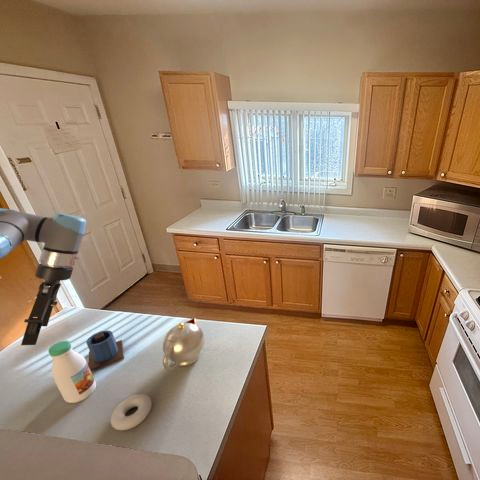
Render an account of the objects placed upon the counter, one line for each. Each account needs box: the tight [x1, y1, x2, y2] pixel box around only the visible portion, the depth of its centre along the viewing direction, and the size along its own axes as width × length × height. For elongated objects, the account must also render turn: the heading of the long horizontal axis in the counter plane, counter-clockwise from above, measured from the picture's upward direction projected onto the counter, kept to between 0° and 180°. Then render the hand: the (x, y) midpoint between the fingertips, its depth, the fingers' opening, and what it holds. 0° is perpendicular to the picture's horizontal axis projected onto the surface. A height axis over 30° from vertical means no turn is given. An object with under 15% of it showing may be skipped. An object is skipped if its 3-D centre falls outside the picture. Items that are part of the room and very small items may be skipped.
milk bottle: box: [48, 340, 97, 404], centre depth 78 cm, size 8×8×20 cm
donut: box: [110, 393, 152, 432], centre depth 76 cm, size 10×4×10 cm
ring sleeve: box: [86, 330, 118, 362], centre depth 93 cm, size 7×7×8 cm
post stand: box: [87, 333, 125, 372], centre depth 93 cm, size 10×10×10 cm
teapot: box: [162, 317, 206, 372], centre depth 91 cm, size 18×14×16 cm
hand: (35, 334), depth 75 cm, fingers open, 13 cm apart
